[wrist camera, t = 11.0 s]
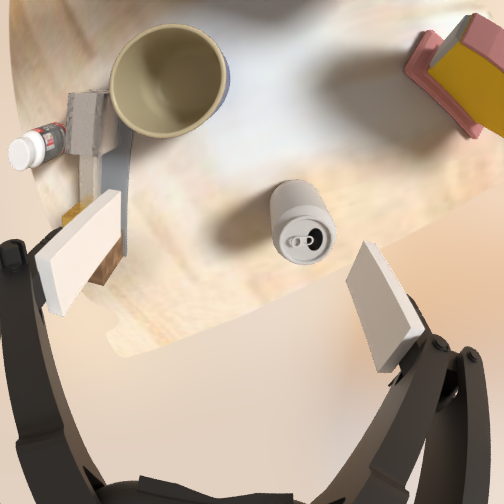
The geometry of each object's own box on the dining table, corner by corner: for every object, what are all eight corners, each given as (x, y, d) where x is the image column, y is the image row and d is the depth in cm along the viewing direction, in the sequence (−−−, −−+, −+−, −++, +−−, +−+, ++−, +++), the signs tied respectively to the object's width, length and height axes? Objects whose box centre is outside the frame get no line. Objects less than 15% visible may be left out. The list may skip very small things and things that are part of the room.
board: (90, 89, 33) (88, 90, 32) (138, 91, 34) (136, 91, 33) (88, 245, 47) (86, 247, 46) (127, 254, 47) (125, 256, 47)
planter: (220, 134, 37) (206, 151, 28) (136, 116, 36) (99, 127, 26) (247, 50, 31) (242, 35, 22) (158, 34, 29) (125, 19, 20)
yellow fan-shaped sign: (499, 109, 31) (593, 145, 13) (479, 148, 35) (571, 199, 17) (412, 17, 26) (513, -6, 8) (386, 60, 30) (489, 53, 12)
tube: (92, 110, 33) (60, 118, 26) (116, 111, 33) (86, 119, 26) (91, 243, 44) (68, 270, 37) (111, 248, 45) (90, 276, 38)
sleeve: (97, 89, 33) (68, 93, 26) (129, 90, 34) (104, 93, 27) (92, 141, 37) (65, 153, 31) (123, 144, 38) (98, 156, 31)
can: (318, 224, 44) (336, 270, 34) (269, 225, 44) (272, 271, 34) (321, 177, 40) (343, 211, 30) (268, 177, 40) (272, 211, 30)
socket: (88, 220, 44) (61, 247, 36) (124, 227, 45) (100, 257, 37) (90, 246, 47) (66, 275, 39) (124, 254, 47) (103, 285, 40)
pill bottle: (65, 115, 35) (24, 128, 26) (74, 147, 38) (37, 166, 29) (41, 130, 35) (2, 145, 27) (51, 160, 38) (13, 180, 30)
